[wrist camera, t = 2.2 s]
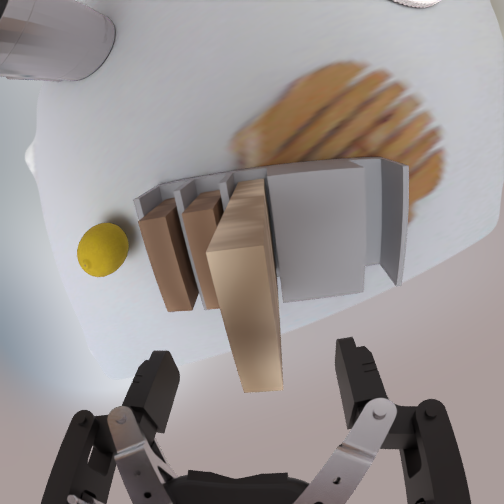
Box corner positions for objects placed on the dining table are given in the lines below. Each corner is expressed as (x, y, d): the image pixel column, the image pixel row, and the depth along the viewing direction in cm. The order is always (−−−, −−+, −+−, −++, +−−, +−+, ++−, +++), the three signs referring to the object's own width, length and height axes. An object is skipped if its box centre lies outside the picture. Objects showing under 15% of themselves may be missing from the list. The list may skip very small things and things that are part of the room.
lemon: (126, 207, 29) (90, 232, 22) (145, 248, 31) (116, 283, 24) (94, 222, 30) (57, 249, 23) (113, 260, 32) (81, 294, 25)
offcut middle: (218, 271, 31) (206, 309, 24) (201, 192, 27) (181, 213, 21) (240, 269, 30) (234, 307, 24) (225, 188, 27) (212, 208, 20)
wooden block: (253, 271, 30) (244, 392, 16) (238, 181, 26) (205, 252, 12) (276, 269, 30) (283, 390, 16) (264, 178, 26) (263, 245, 12)
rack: (184, 280, 33) (169, 312, 27) (158, 184, 28) (133, 199, 22) (379, 257, 31) (401, 285, 25) (380, 156, 26) (408, 165, 20)
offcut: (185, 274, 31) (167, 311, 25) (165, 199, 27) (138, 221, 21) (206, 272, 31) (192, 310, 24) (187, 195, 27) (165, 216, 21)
